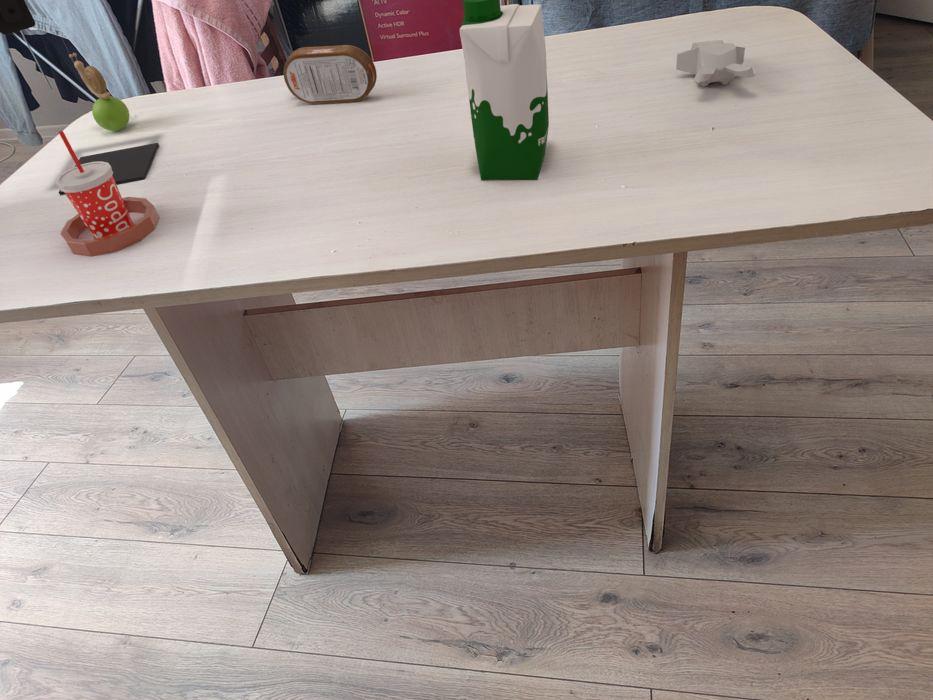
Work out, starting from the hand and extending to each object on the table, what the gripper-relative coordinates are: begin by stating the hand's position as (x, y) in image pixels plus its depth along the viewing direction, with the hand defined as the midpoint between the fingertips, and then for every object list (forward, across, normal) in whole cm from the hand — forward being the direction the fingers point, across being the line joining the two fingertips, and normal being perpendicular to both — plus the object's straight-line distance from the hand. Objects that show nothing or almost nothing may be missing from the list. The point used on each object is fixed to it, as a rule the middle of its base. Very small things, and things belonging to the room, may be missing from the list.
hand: (4, 23), depth 67 cm
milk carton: (+25, +29, +41) cm, 56 cm away
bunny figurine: (+25, +35, +76) cm, 88 cm away
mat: (+25, -23, +8) cm, 35 cm away
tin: (+25, -12, +42) cm, 51 cm away
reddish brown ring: (+25, 0, 0) cm, 25 cm away
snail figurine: (+25, -38, +15) cm, 48 cm away
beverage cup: (+25, 0, 0) cm, 25 cm away
